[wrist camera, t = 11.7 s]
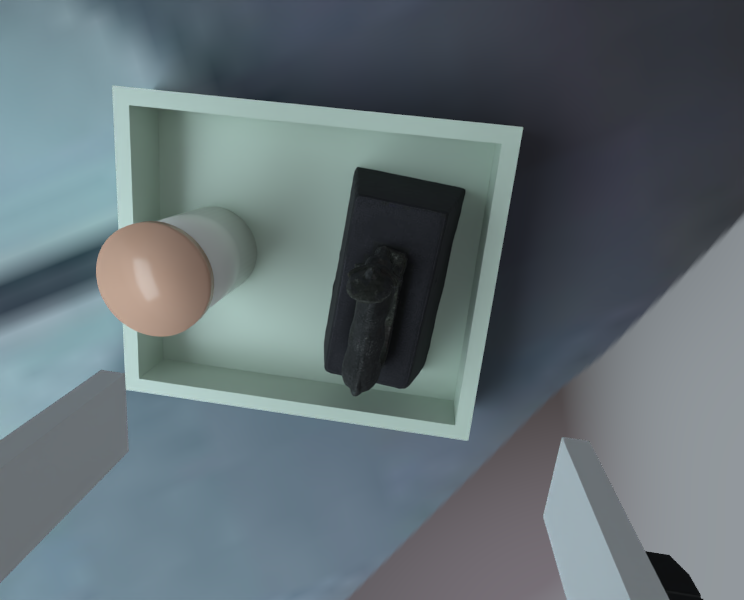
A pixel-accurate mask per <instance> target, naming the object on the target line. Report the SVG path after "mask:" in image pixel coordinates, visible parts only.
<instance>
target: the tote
mask: <svg viewBox="0 0 744 600" xmlns="http://www.w3.org/2000/svg"><path fill="white" fill-rule="evenodd" d="M112 94H113V116H114V138H115V160H116V182H117V204H118V226H119V229H121V228H123V227H125V226H128V225H131V224H135V223H139V222H143V221H158V220H161V219H165V218H168V217H171V216H175V215H178V214H182V213H185V212H188V211H192V210H195V209H198V208H202V207H209V206H213V207H221V208H224V209H227V210H229V211H231V212H233V213H235V214H236V215H238V216H239V217H240V218H241V219H242V220H243V221H244V222H245V223H246V224H247V225H248V227H249V228H250V230H251V232H252V234H253V236H254V238H255V242H256V247H257V260H256V264H255V267H254V270H253V272H252V273H251V275H250V276H249V278H248V279H247V280H246V281H245V282H244V283H242V284H241V285H240V286H238V287H237V288H236V289H234V290H233V291H232V292H230V293H229V294H228V295H226V296H225V297H224V298H222V299H221V300H220V301H218V302H217V303H216V304H214V305H213V306H212V307H210V308H209V309H208V310H207V312H206V313H205V314H204V316H203V317H202V318H201V319H200V320H199V321H198V322H196V323H195V324H194V325H192V326H191V327H190V328H188V329H187V330H185V331H183V332H181V333H179V334H176V335H172V336H165V337H157V336H150V335H145V334H142V333H139V332H137V331H135V330H133V329H131V328H129V327H128V326H126V325H125V324H124V323H123V337H124V359H125V381H126V390H131V391H138V392H145V393H152V394H158V395H165V396H172V397H178V398H185V399H192V400H198V401H205V402H212V403H218V404H225V405H232V406H239V407H245V408H252V409H259V410H265V411H272V412H279V413H285V414H292V415H299V416H305V417H312V418H319V419H326V420H332V421H339V422H346V423H352V424H359V425H366V426H372V427H379V428H386V429H392V430H399V431H406V432H413V433H419V434H426V435H433V436H439V437H446V438H453V439H459V440H466V441H468V438H469V433H470V427H471V421H472V416H473V410H474V404H475V399H476V393H477V387H478V382H479V376H480V370H481V365H482V359H483V353H484V348H485V342H486V336H487V331H488V325H489V319H490V314H491V308H492V302H493V296H494V291H495V285H496V279H497V274H498V268H499V262H500V257H501V251H502V245H503V240H504V234H505V228H506V223H507V217H508V211H509V206H510V200H511V194H512V189H513V183H514V177H515V172H516V166H517V160H518V155H519V149H520V143H521V138H522V132H523V127H517V126H508V125H498V124H488V123H478V122H468V121H458V120H448V119H438V118H428V117H419V116H409V115H399V114H389V113H379V112H369V111H359V110H349V109H339V108H330V107H320V106H310V105H300V104H290V103H280V102H270V101H260V100H250V99H241V98H231V97H221V96H211V95H201V94H191V93H181V92H171V91H161V90H152V89H142V88H132V87H122V86H112ZM357 167H361V168H367V169H373V170H378V171H383V172H387V173H392V174H397V175H402V176H407V177H412V178H417V179H422V180H426V181H432V182H437V183H442V184H446V185H451V186H456V187H461V188H464V189H465V197H464V201H463V205H462V210H461V215H460V218H459V222H458V226H457V230H456V233H455V236H454V240H453V244H452V249H451V254H450V259H449V264H448V269H447V274H446V279H445V284H444V288H443V292H442V296H441V300H440V303H439V307H438V311H437V315H436V320H435V325H434V330H433V334H432V338H431V344H430V348H429V351H428V355H427V359H426V362H425V365H424V367H423V368H422V370H421V371H420V373H419V374H418V376H417V377H416V378H415V379H414V381H413V382H412V383H411V384H410V386H408V387H407V388H405V389H398V388H395V387H390V386H385V385H381V384H377V383H376V384H375V385H374V387H372V388H371V389H370V390H369V391H365V392H362V393H361V394H360V395H358V396H356V397H355V396H353V395H352V394H351V391H350V388H349V387H347V386H346V385H345V383H344V381H343V378H342V376H341V375H337V374H331V373H329V372H327V371H326V370H325V368H324V339H325V330H326V326H327V321H328V315H329V309H330V303H331V298H332V289H333V284H334V281H335V277H336V272H337V267H338V262H339V253H340V250H341V245H342V239H343V233H344V228H345V223H346V216H347V211H348V205H349V199H350V194H351V193H350V192H351V187H352V183H353V176H354V171H355V170H356V168H357Z"/></svg>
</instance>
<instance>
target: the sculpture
mask: <svg viewBox="0 0 744 600" xmlns="http://www.w3.org/2000/svg"><path fill="white" fill-rule="evenodd" d="M350 193H351V194H350V199H349V205H348V211H347V216H346V223H345V228H344V233H343V239H342V245H341V250H340V253H339V262H338V267H337V272H336V277H335V281H334V284H333V289H332V298H331V303H330V309H329V315H328V321H327V326H326V330H325V339H324V368H325V370H326V371H327V372H329V373H331V374H337V375H341V376H342V378H343V381H344V383H345V385H346V386H347V387H349V388H350V391H351V394H352V395H353V396H355V397H356V396H358V395H360V394H361V393H362V392H365V391H369V390H370V389H371V388H372V387H374V385H375V384H376V383H377V384H381V385H385V386H390V387H395V388H398V389H405V388H407V387H408V386H410V384H411V383H412V382H413V381H414V379H415V378H416V377H417V376H418V374H419V373H420V371H421V370H422V368H423V367H424V365H425V362H426V359H427V355H428V351H429V348H430V344H431V338H432V334H433V330H434V325H435V320H436V315H437V311H438V307H439V303H440V300H441V296H442V292H443V288H444V284H445V279H446V274H447V269H448V264H449V259H450V254H451V249H452V244H453V240H454V236H455V233H456V230H457V226H458V222H459V218H460V215H461V210H462V205H463V201H464V197H465V189H464V188H461V187H456V186H451V185H446V184H442V183H437V182H432V181H426V180H422V179H417V178H412V177H407V176H402V175H397V174H392V173H387V172H383V171H378V170H373V169H367V168H361V167H357V168H356V170H355V171H354V176H353V183H352V187H351V192H350Z"/></svg>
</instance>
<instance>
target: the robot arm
mask: <svg viewBox="0 0 744 600" xmlns="http://www.w3.org/2000/svg"><path fill="white" fill-rule="evenodd" d="M128 451H129V449H128V427H127V406H126V385H125V373H118V372H112V371H105V370H100V371H99V372H98V373H96V374H95V375H93V376H92V377H90V378H89V379H88V380H86V381H85V382H83V383H82V384H80V385H79V386H78V387H76V388H75V389H73V390H72V391H70V392H69V393H67V394H66V395H65V396H63V397H62V398H60V399H59V400H57V401H56V402H55V403H53V404H52V405H50V406H49V407H47V408H46V409H45V410H43V411H42V412H40V413H39V414H37V415H36V416H35V417H33V418H32V419H30V420H29V421H27V422H26V423H25V424H23V425H22V426H20V427H19V428H17V429H16V430H14V431H13V432H12V433H10V434H9V435H7V436H6V437H4V438H3V439H2V440H0V583H1V582H2V581H3V579H4V578H5V577H6V576H7V575H8V574H9V573H10V572H11V571H12V570H13V569H14V568H15V567H16V566H17V565H18V564H19V563H20V562H21V561H22V560H23V559H24V558H25V557H26V556H27V555H28V554H29V553H30V552H31V551H32V550H33V549H34V548H35V547H36V546H37V545H38V544H39V543H40V542H41V541H42V540H43V538H44V537H45V536H46V535H47V534H48V533H49V532H50V531H51V530H52V529H53V528H54V527H55V526H56V525H57V524H58V523H59V522H60V521H61V520H62V519H63V518H64V517H65V516H66V515H67V514H68V513H69V512H70V511H71V510H72V509H73V508H74V507H75V506H76V505H77V504H78V503H79V502H80V501H81V500H82V499H83V497H84V496H85V495H86V494H87V493H88V492H89V491H90V490H91V489H92V488H93V487H94V486H95V485H96V484H97V483H98V482H99V481H100V480H101V479H102V478H103V477H104V476H105V475H106V474H107V473H108V472H109V471H110V470H111V469H112V468H113V467H114V466H115V465H116V464H117V463H118V462H119V461H120V460H121V459H122V458H123V457H124V455H125V454H126V453H127V452H128ZM543 518H544V521H545V525H546V528H547V532H548V535H549V539H550V542H551V546H552V549H553V553H554V557H555V560H556V564H557V567H558V571H559V574H560V578H561V581H562V585H563V588H564V592H565V595H566V599H567V600H703V599H701V597H700V596H701V595H700V593H699V591H698V590H697V588H696V586H695V584H694V583H693V581H692V579H691V577H690V576H689V574H688V573H687V572H686V571H685V570H684V569H683V568H681V566H680V565H679V564H678V563H677V562H676V561H675V560H673V558H672V557H671V556H670V555H665V554H659V553H652V552H646V551H645V550H644V548H643V546H642V544H641V542H640V540H639V539H638V537H637V535H636V532H635V530H634V529H633V526H632V524H631V523H630V521H629V519H628V517H627V515H626V513H625V511H624V509H623V507H622V505H621V503H620V501H619V499H618V497H617V495H616V493H615V491H614V489H613V487H612V485H611V483H610V481H609V479H608V477H607V475H606V473H605V471H604V469H603V467H602V465H601V463H600V461H599V459H598V457H597V455H596V453H595V451H594V449H593V447H592V445H591V443H590V441H586V440H579V439H572V438H565V437H562V439H561V444H560V448H559V452H558V456H557V460H556V465H555V469H554V473H553V477H552V482H551V486H550V490H549V494H548V498H547V503H546V507H545V511H544V515H543Z"/></svg>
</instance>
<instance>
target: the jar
mask: <svg viewBox="0 0 744 600" xmlns="http://www.w3.org/2000/svg"><path fill="white" fill-rule="evenodd" d="M256 260H257V247H256V242H255V238H254V236H253V234H252V232H251V230H250V228H249V227H248V225H247V224H246V223H245V222H244V221H243V220H242V219H241V218H240V217H239V216H238V215H236V214H235V213H233V212H231V211H229V210H227V209H224V208H221V207H213V206H209V207H202V208H198V209H195V210H192V211H188V212H185V213H182V214H178V215H175V216H171V217H168V218H165V219H161V220H158V221H143V222H139V223H135V224H131V225H128V226H125V227H123V228H121V229H119V230H117V231H116V232H114V233H113V234H112V235H111V236H110V237H109V238H108V239H107V240H106V241H105V243H104V245H103V246H102V248H101V250H100V252H99V255H98V259H97V265H96V277H97V283H98V287H99V291H100V293H101V296H102V298H103V300H104V302H105V304H106V305H107V307H108V308H109V310H110V311H111V312H112V313H113V314H114V315H115V316H116V317H117V318H118V319H119V320H120V321H121V322H122V323H124V324H125V325H126V326H128V327H129V328H131V329H133V330H135V331H137V332H139V333H142V334H145V335H150V336H157V337H165V336H172V335H176V334H179V333H181V332H183V331H185V330H187V329H188V328H190V327H191V326H192V325H194V324H195V323H196V322H198V321H199V320H200V319H201V318H202V317H203V316H204V314H205V313H206V312H207V310H208V309H209V308H210V307H212V306H213V305H214V304H216V303H217V302H218V301H220V300H221V299H222V298H224V297H225V296H226V295H228V294H229V293H230V292H232V291H233V290H234V289H236V288H237V287H238V286H240V285H241V284H242V283H244V282H245V281H246V280H247V279H248V278H249V276H250V275H251V273H252V272H253V270H254V267H255V264H256Z"/></svg>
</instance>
